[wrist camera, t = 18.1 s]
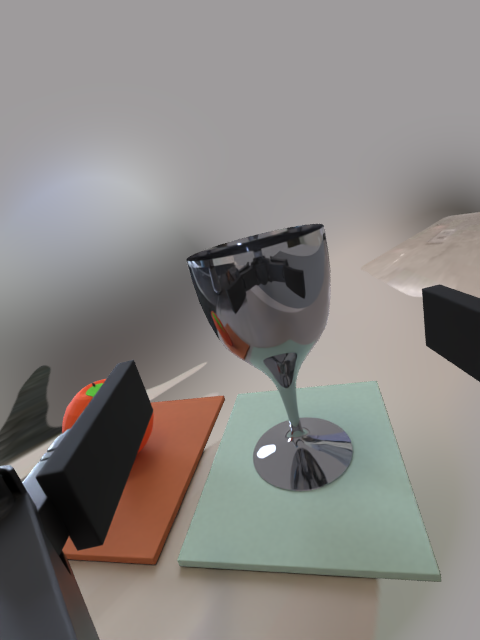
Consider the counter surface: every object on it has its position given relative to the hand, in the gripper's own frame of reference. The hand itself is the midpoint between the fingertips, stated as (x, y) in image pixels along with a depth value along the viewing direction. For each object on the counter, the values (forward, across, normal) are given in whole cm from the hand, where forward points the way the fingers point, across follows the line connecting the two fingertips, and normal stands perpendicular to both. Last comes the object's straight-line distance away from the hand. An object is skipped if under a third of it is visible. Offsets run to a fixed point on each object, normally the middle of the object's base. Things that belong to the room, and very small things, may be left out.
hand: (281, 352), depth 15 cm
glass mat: (+6, 0, -11) cm, 12 cm away
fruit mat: (+9, -14, -11) cm, 20 cm away
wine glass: (+6, 0, -11) cm, 12 cm away
